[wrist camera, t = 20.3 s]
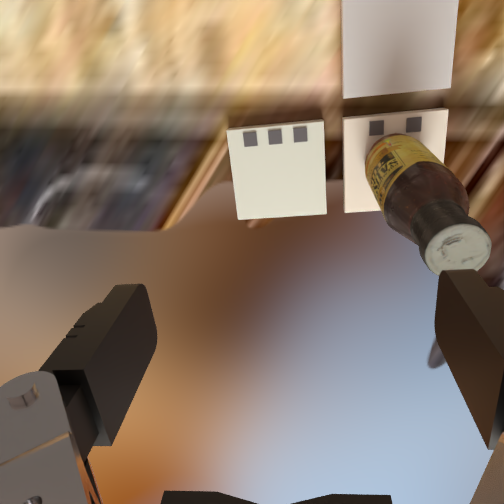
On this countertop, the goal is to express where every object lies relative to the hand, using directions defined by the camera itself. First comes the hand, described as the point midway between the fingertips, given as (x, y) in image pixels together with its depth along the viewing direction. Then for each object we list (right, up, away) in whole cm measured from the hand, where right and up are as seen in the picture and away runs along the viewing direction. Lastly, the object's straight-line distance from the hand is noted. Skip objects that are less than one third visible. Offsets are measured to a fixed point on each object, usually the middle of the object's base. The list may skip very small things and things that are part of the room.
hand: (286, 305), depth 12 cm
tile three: (+2, +11, +35) cm, 37 cm away
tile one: (+13, +22, +28) cm, 38 cm away
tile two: (+14, +11, +34) cm, 38 cm away
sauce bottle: (+14, +11, +32) cm, 37 cm away
